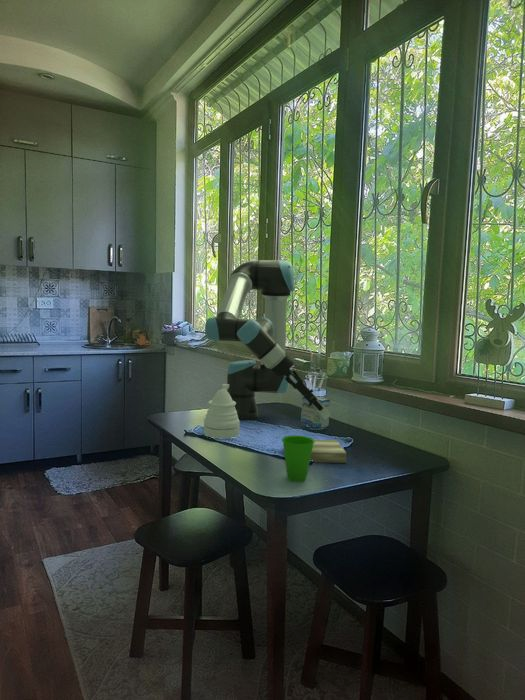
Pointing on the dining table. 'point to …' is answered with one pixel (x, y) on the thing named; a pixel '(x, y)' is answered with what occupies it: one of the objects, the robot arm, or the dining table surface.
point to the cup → (297, 456)
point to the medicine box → (314, 413)
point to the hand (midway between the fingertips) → (325, 413)
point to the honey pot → (222, 416)
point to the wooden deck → (327, 451)
